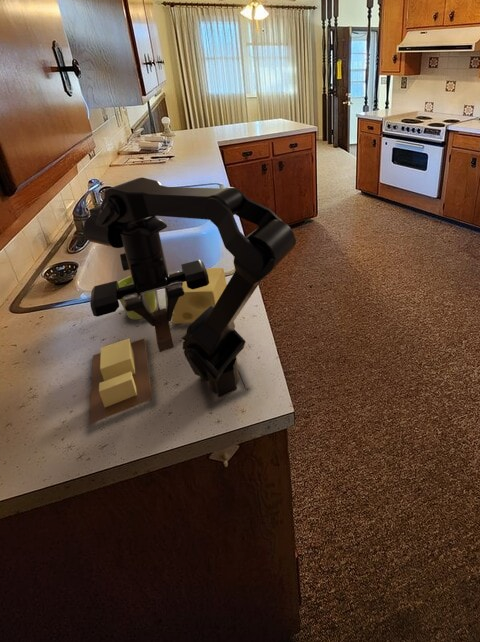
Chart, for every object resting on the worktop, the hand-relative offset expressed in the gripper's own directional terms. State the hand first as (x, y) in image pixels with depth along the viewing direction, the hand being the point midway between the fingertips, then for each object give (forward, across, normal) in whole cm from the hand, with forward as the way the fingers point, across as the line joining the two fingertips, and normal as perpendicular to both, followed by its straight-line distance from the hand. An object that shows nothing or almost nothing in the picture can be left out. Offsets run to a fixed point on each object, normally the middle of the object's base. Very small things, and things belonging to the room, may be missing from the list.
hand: (161, 322), depth 67 cm
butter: (+10, +9, -3) cm, 14 cm away
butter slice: (+10, +9, +4) cm, 14 cm away
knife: (+1, 0, -3) cm, 3 cm away
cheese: (+11, -9, -14) cm, 20 cm away
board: (+11, +9, -1) cm, 14 cm away
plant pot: (+11, +4, -20) cm, 23 cm away
